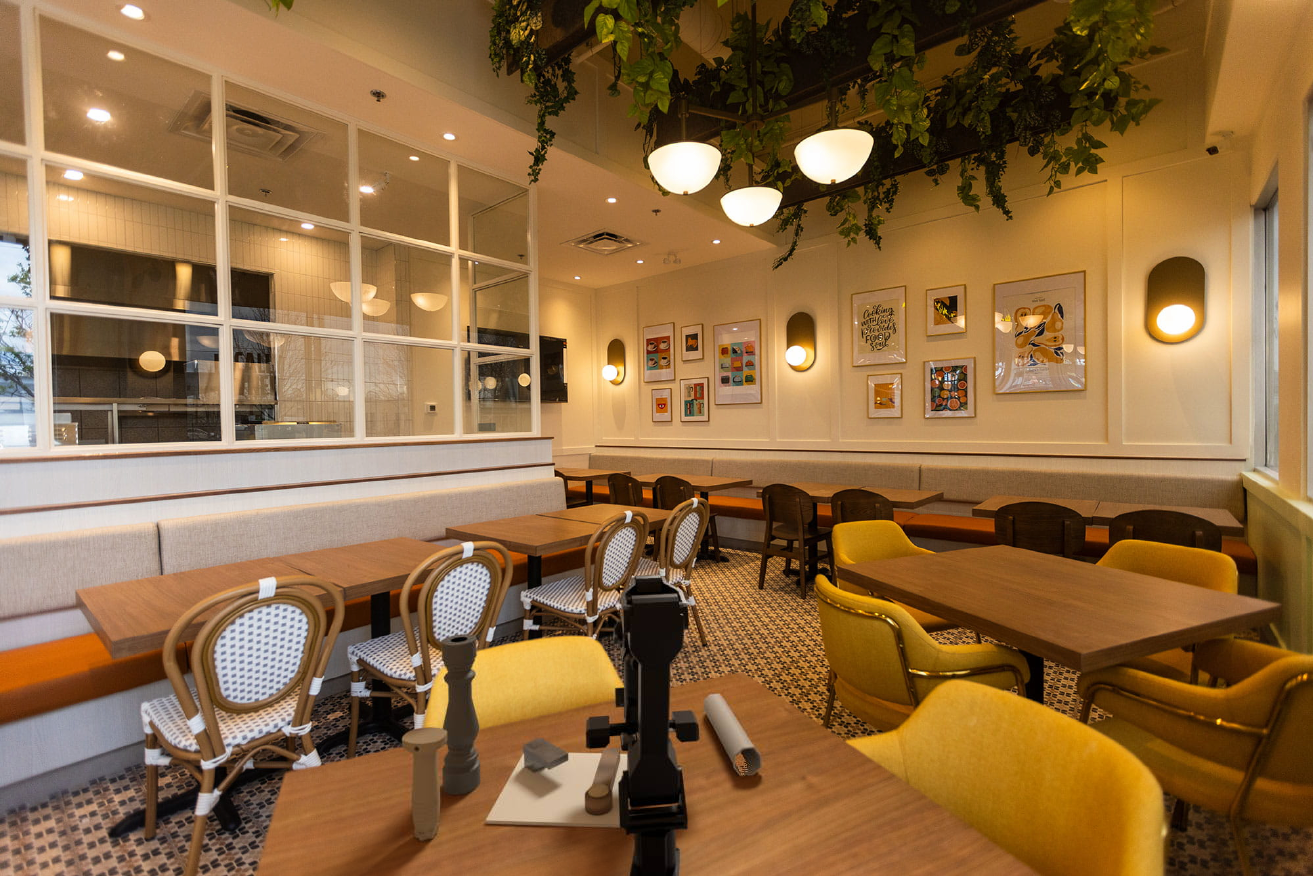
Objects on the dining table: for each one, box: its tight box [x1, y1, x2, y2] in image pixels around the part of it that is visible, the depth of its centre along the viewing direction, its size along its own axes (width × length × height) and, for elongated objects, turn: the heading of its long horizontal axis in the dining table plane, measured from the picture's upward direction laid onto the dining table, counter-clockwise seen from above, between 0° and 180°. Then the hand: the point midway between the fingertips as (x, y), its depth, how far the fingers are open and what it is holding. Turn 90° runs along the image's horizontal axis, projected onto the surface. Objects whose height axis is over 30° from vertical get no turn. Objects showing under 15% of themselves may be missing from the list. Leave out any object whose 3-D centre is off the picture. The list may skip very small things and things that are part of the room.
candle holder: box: [441, 633, 481, 796], centre depth 101 cm, size 6×6×25 cm
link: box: [585, 747, 621, 815], centre depth 99 cm, size 16×4×2 cm, turn 176°
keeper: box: [522, 737, 569, 773], centre depth 104 cm, size 8×4×4 cm, turn 46°
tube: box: [703, 693, 763, 777], centre depth 115 cm, size 5×5×25 cm
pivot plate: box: [485, 752, 632, 829], centre depth 100 cm, size 20×22×3 cm
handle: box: [401, 726, 447, 842], centre depth 89 cm, size 5×6×15 cm
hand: (642, 779), depth 99 cm, fingers closed
